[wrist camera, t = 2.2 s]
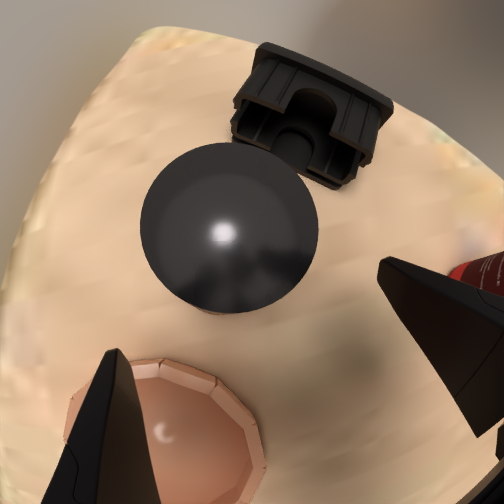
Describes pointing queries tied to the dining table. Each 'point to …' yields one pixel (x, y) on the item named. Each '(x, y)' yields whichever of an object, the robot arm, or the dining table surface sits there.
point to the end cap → (309, 115)
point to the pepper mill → (229, 228)
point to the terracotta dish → (193, 434)
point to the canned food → (483, 273)
